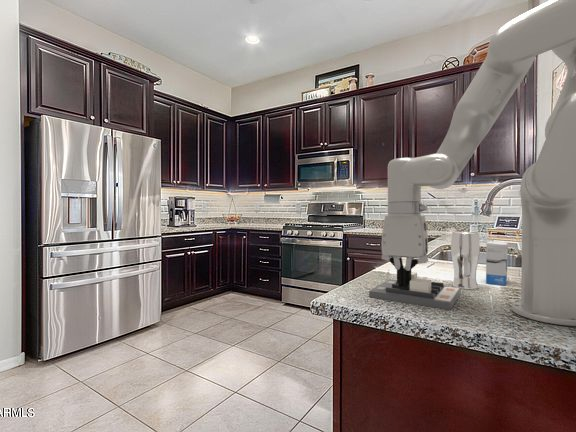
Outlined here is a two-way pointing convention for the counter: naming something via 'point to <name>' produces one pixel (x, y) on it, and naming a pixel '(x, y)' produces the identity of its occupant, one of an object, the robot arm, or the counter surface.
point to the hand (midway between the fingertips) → (404, 285)
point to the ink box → (496, 262)
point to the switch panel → (417, 294)
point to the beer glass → (465, 259)
